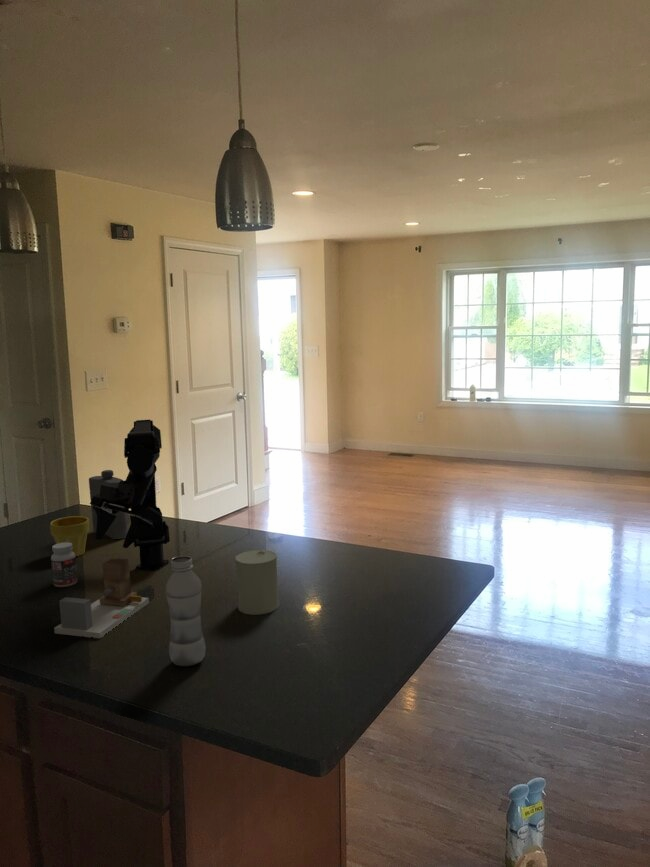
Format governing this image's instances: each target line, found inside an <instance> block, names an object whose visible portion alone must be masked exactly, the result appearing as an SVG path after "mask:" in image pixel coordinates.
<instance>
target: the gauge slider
mask: <svg viewBox="0 0 650 867" xmlns="http://www.w3.org/2000/svg"><path fill="white" fill-rule="evenodd" d="M129 564H130V562H129V558H119V557H112V558H111V559H108V560H107V561H105V562H103V563H102V572H103V573H102V574H103V584H104V590H103V592H102V593H103V596H101V597H100V598H99V599H100V604H108V605H118V606H126V605H127V604H129V603H130V602H141V601H142V595H138V592H135V591H132V588H131V586H132V585H131V575H130V565H129Z"/></svg>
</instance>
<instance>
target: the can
mask: <svg viewBox="0 0 650 867" xmlns="http://www.w3.org/2000/svg"><path fill="white" fill-rule="evenodd" d="M277 557H278V556H277V554H276V552H273V551H271V550H266V549H258V550H257V549H254V550H247V551H244V552H241V553H239V554H237V555H236V556H235V558H234V559H235V569H236V570H235V571H236V572H235V573H236V586H237V588H236V589H237V609H238V611H239V612H240V613H242V614H245V615H250V616H251V615H253V616H255V615H257V616H258V615H265V614H269V613H272V612H274V611H276V610H278V609H279V607H280V600H279V589H278V588H279V585H278V584H279V583H278V567H277V564H278V563H277V561H278V560H277V559H278V558H277Z"/></svg>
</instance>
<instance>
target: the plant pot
mask: <svg viewBox="0 0 650 867" xmlns="http://www.w3.org/2000/svg"><path fill="white" fill-rule="evenodd" d="M49 530H50V535H51V536H52V537H53V539H54V542H55V544H59V543H64V542H69V543H72V546H73V549H72V552H74V553H75V557H76V556H78V557H80V556H79V555H81V556H82V554H83V553H84V554H85V553H86V552H85V550H86V544H87V537H88V532H89V533H90V518H89V517H86V516H81V515H80V516H79V515H78V516H77V515H73V516H65V517H59V518H57V519H56V518H55V519H54V520H52V521H51V522H50V524H49ZM84 554H83V555H84ZM76 558H77V557H76Z"/></svg>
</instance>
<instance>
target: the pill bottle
mask: <svg viewBox="0 0 650 867" xmlns="http://www.w3.org/2000/svg"><path fill="white" fill-rule="evenodd" d="M72 549H73V546H72V543H69V542H64V543H59V544H56V543H55V544H54V545H52V547H51V551H52V553H53V554H52V555H51V556H50V563H51V574H52V585H54V587H57V588H66V587H71V586H73V585H75V584H76V583H77V582H78V570H77V559H76V558H77V557H75V553H74V552H72Z"/></svg>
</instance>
